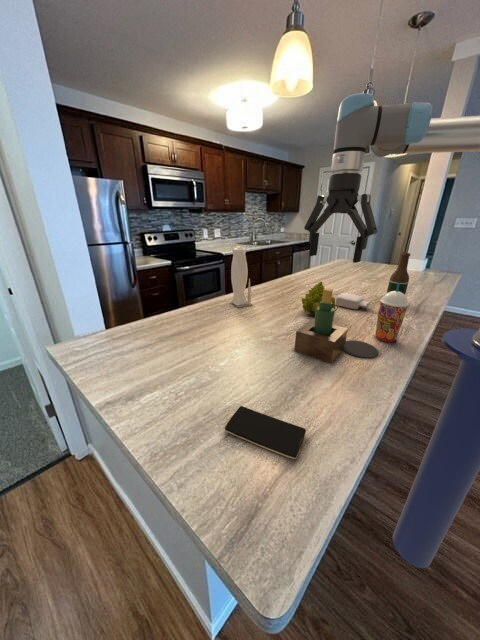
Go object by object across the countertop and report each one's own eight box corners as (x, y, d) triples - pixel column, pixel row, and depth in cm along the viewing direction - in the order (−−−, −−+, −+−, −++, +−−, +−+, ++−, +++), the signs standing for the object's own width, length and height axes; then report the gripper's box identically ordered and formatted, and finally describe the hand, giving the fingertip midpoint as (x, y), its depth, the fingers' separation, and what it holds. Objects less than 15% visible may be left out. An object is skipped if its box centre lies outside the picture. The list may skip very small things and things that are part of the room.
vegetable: (317, 295, 124) (327, 274, 112) (335, 321, 116) (348, 301, 104) (290, 304, 121) (297, 282, 108) (306, 331, 113) (316, 311, 101)
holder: (344, 347, 85) (348, 328, 83) (331, 363, 77) (334, 342, 74) (309, 337, 92) (312, 319, 89) (294, 350, 83) (296, 330, 81)
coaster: (381, 348, 85) (381, 347, 85) (372, 362, 77) (373, 361, 77) (347, 338, 92) (347, 337, 92) (336, 350, 84) (336, 349, 84)
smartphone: (239, 404, 58) (307, 428, 52) (239, 408, 59) (306, 433, 52) (223, 427, 52) (296, 457, 46) (223, 431, 52) (296, 462, 46)
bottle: (330, 348, 85) (340, 289, 77) (324, 355, 81) (334, 293, 73) (315, 343, 88) (322, 286, 80) (308, 349, 84) (315, 289, 76)
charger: (368, 313, 114) (335, 305, 123) (375, 308, 120) (343, 301, 130) (370, 303, 112) (336, 296, 121) (377, 298, 118) (344, 291, 128)
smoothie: (367, 337, 93) (379, 282, 85) (379, 331, 97) (392, 278, 90) (391, 346, 87) (406, 288, 79) (403, 339, 91) (418, 283, 83)
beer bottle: (406, 305, 125) (420, 254, 115) (392, 306, 123) (405, 254, 114) (394, 300, 132) (406, 251, 122) (380, 301, 130) (392, 251, 121)
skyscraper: (236, 308, 119) (236, 244, 108) (227, 303, 125) (227, 242, 114) (251, 305, 123) (253, 243, 112) (242, 300, 129) (243, 241, 118)
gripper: (296, 176, 73) (290, 254, 81) (392, 166, 55) (371, 267, 64) (312, 178, 77) (304, 252, 85) (405, 170, 60) (384, 263, 68)
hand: (333, 258), depth 75 cm, fingers open, 13 cm apart
